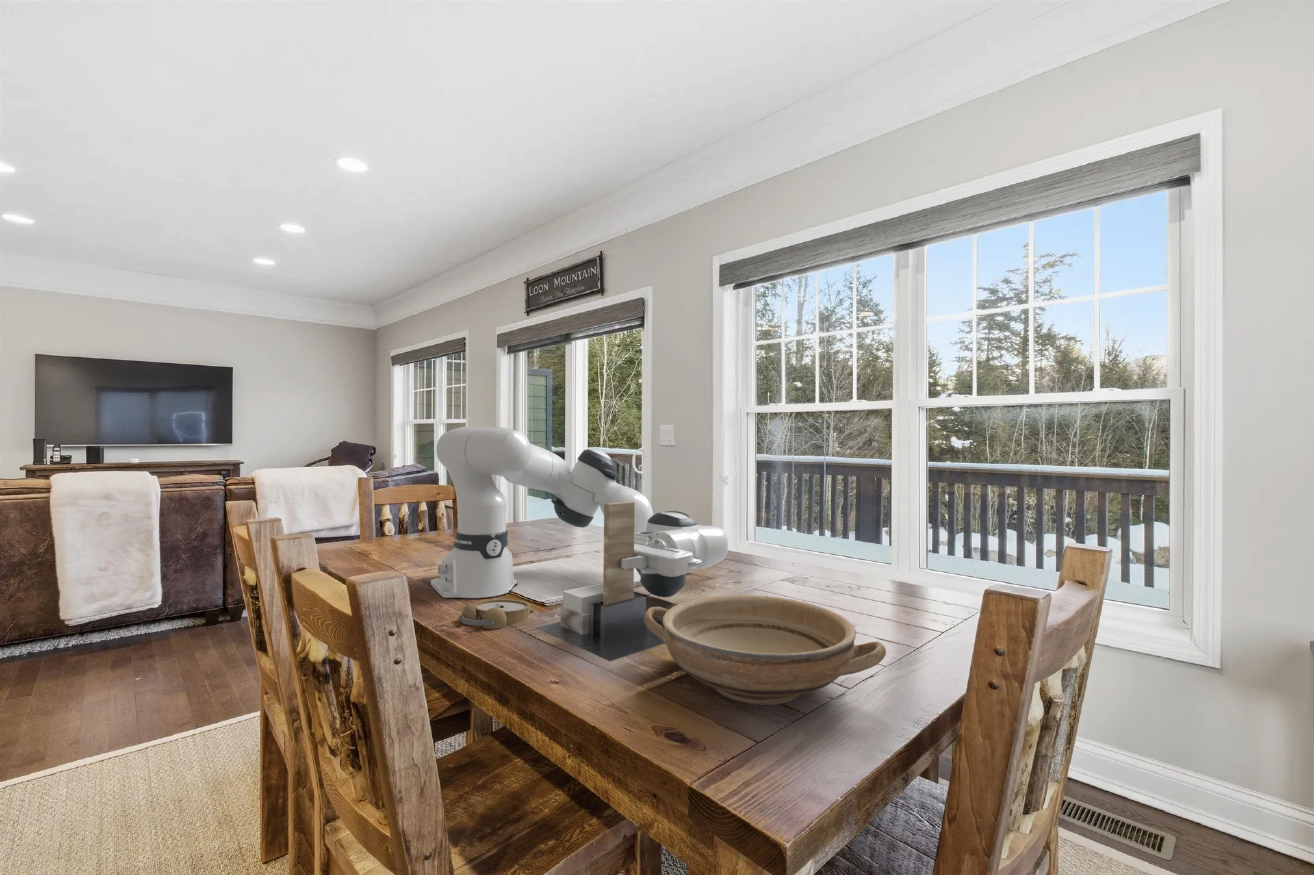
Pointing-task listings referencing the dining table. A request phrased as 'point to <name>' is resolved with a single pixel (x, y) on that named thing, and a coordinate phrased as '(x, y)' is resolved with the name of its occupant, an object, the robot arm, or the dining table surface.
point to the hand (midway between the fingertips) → (615, 562)
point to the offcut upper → (582, 597)
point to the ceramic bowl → (761, 645)
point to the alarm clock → (495, 613)
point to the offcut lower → (575, 621)
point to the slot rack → (612, 629)
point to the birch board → (618, 551)
